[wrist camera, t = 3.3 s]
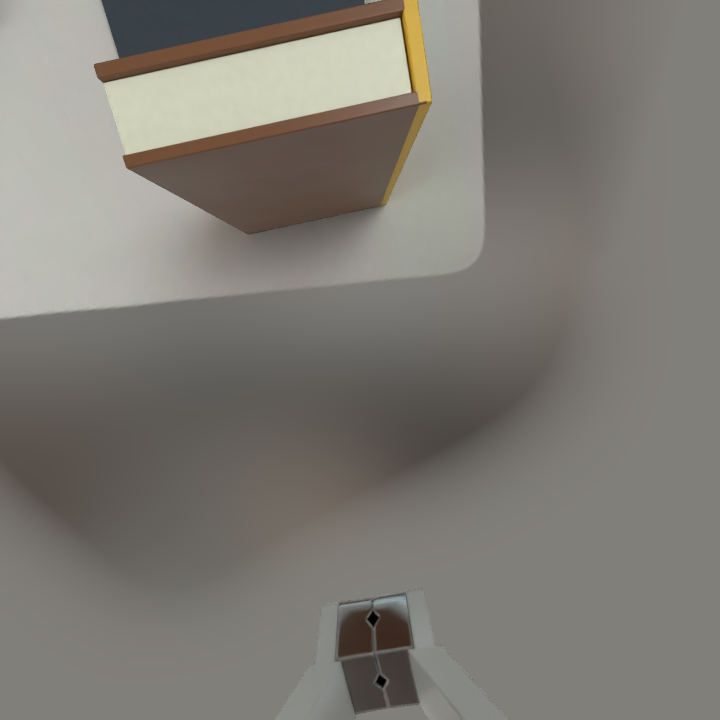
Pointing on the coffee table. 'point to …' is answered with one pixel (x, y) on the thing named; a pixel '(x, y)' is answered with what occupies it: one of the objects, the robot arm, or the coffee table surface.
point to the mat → (200, 19)
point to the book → (278, 114)
